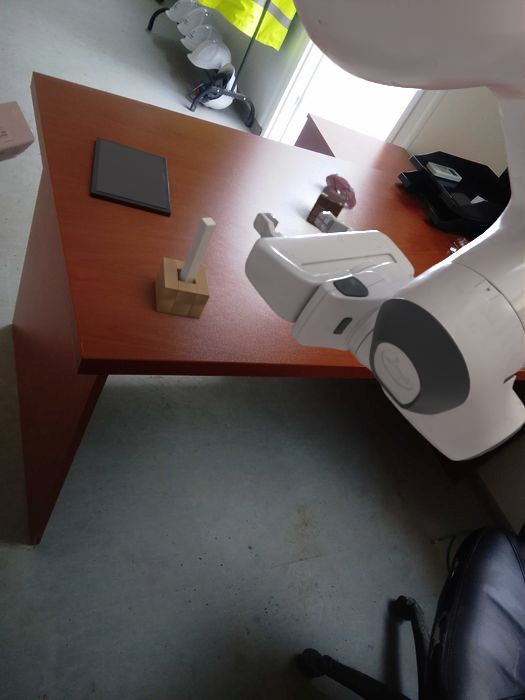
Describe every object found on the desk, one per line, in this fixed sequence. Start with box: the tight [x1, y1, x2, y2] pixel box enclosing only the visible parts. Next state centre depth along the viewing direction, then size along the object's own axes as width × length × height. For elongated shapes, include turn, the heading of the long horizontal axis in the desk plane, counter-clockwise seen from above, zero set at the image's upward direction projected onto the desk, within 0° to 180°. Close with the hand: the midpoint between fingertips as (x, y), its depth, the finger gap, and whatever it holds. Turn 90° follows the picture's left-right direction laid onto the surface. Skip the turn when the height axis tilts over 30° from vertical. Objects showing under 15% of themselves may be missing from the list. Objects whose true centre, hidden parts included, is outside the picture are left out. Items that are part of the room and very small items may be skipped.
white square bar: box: [178, 217, 217, 283], centre depth 66 cm, size 2×2×15 cm
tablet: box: [89, 136, 172, 218], centre depth 87 cm, size 20×14×1 cm
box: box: [306, 185, 347, 227], centre depth 106 cm, size 6×6×7 cm
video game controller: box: [325, 172, 357, 209], centre depth 120 cm, size 10×5×7 cm
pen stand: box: [154, 256, 211, 319], centre depth 69 cm, size 7×7×5 cm
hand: (292, 217), depth 50 cm, fingers open, 8 cm apart
